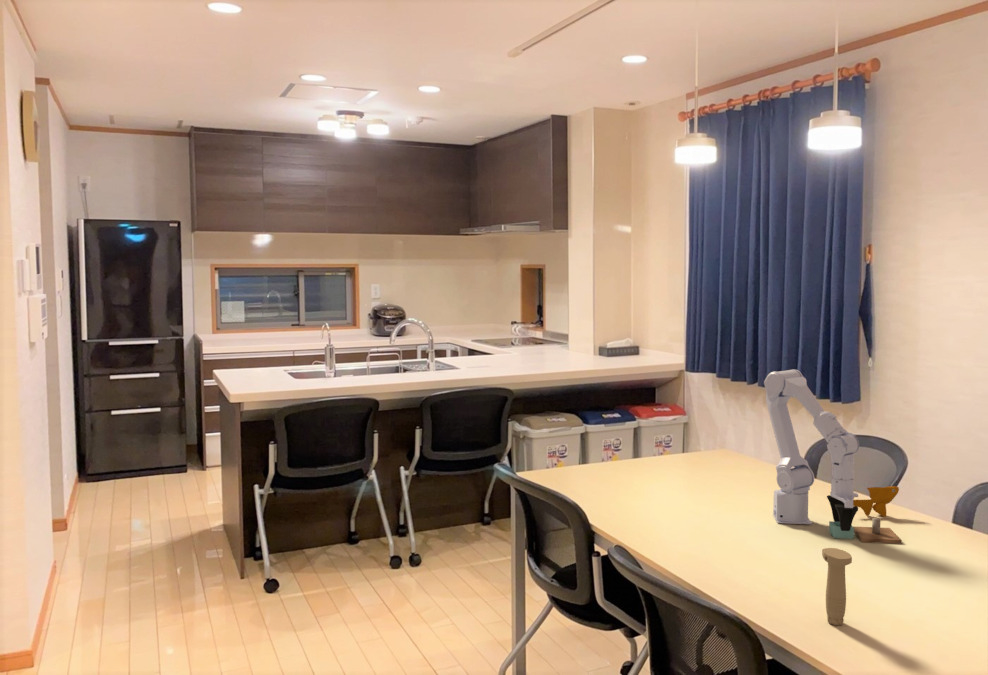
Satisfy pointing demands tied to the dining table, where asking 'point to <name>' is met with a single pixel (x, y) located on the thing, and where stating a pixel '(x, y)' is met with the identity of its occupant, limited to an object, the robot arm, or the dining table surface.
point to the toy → (877, 499)
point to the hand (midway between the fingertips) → (841, 526)
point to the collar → (840, 531)
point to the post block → (876, 533)
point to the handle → (836, 584)
